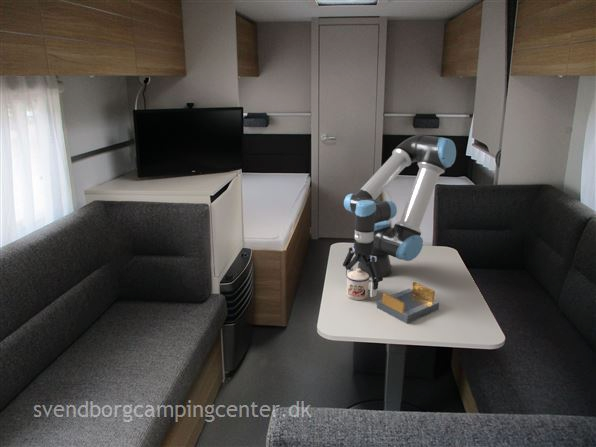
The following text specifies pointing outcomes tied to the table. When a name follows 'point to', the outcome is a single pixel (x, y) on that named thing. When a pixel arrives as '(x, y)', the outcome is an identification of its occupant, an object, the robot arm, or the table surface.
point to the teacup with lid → (358, 284)
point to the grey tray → (409, 303)
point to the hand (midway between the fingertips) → (361, 289)
